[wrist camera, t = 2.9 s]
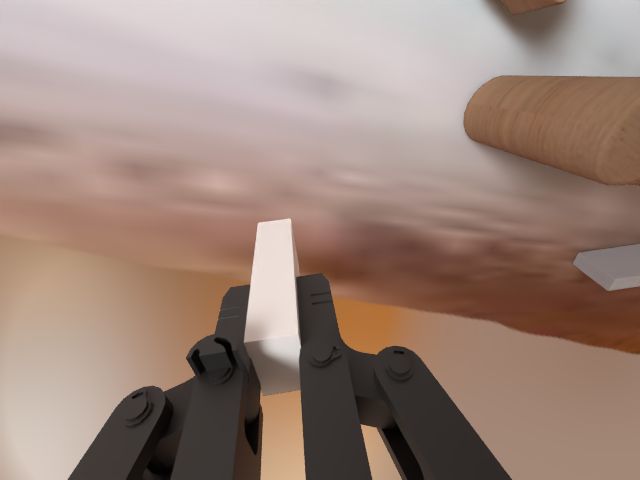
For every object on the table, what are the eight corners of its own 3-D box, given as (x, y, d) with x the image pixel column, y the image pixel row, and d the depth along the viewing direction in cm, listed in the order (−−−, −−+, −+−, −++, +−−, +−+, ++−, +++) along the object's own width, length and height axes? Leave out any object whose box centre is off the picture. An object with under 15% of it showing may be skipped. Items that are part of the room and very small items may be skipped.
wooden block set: (642, 117, 22) (882, 145, 14) (549, 207, 25) (696, 279, 17) (501, -77, 16) (791, -268, 7) (398, 77, 19) (509, 81, 10)
